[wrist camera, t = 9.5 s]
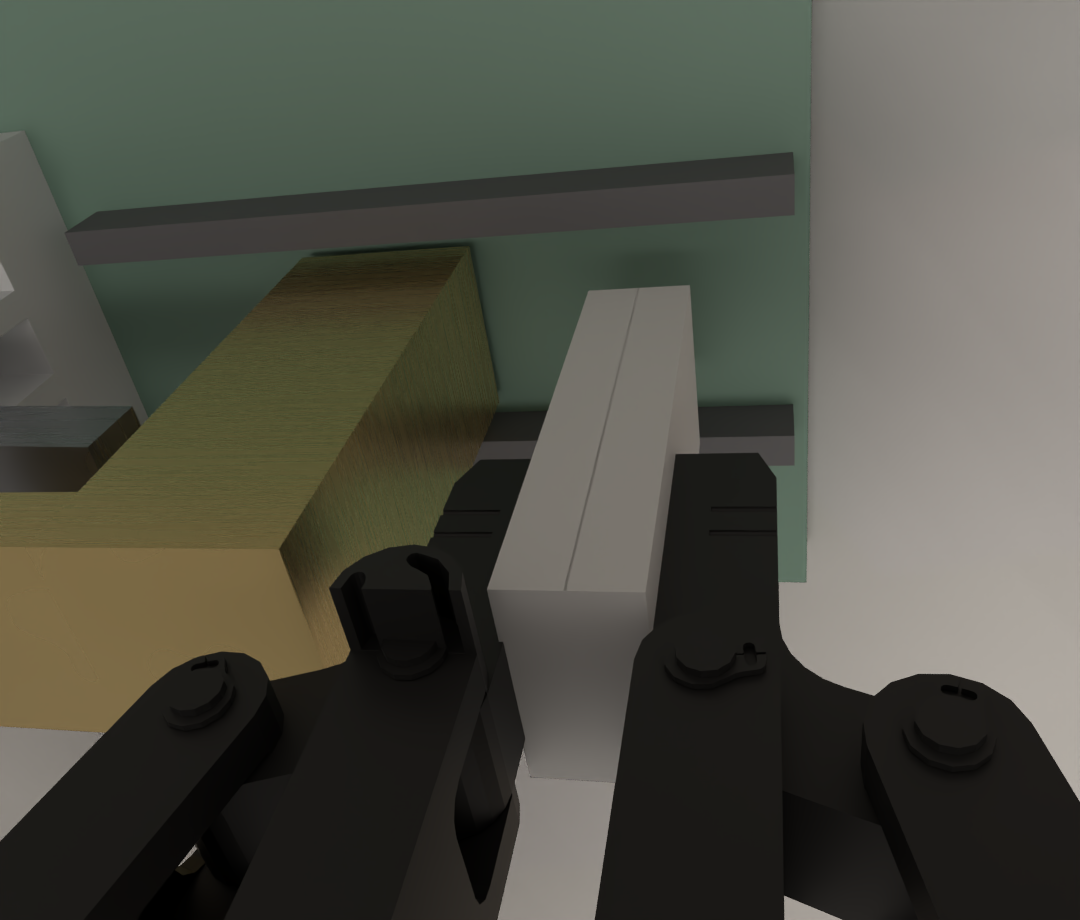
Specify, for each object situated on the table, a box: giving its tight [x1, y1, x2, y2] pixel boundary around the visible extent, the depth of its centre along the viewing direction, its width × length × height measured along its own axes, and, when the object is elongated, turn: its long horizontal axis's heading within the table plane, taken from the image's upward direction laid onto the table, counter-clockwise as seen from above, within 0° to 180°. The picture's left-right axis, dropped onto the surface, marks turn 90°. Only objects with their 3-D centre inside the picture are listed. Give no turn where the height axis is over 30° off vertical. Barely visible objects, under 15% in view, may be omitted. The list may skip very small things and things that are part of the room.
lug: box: [0, 246, 499, 733], centre depth 14 cm, size 6×3×8 cm, turn 98°
